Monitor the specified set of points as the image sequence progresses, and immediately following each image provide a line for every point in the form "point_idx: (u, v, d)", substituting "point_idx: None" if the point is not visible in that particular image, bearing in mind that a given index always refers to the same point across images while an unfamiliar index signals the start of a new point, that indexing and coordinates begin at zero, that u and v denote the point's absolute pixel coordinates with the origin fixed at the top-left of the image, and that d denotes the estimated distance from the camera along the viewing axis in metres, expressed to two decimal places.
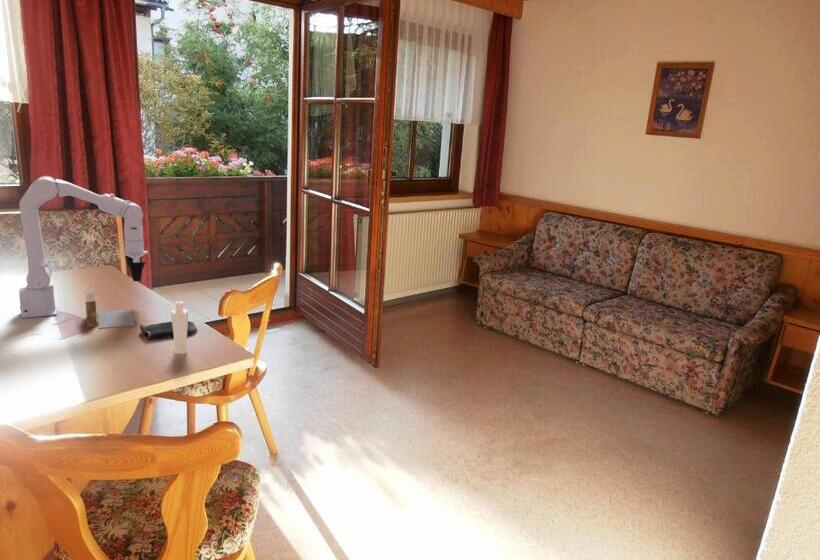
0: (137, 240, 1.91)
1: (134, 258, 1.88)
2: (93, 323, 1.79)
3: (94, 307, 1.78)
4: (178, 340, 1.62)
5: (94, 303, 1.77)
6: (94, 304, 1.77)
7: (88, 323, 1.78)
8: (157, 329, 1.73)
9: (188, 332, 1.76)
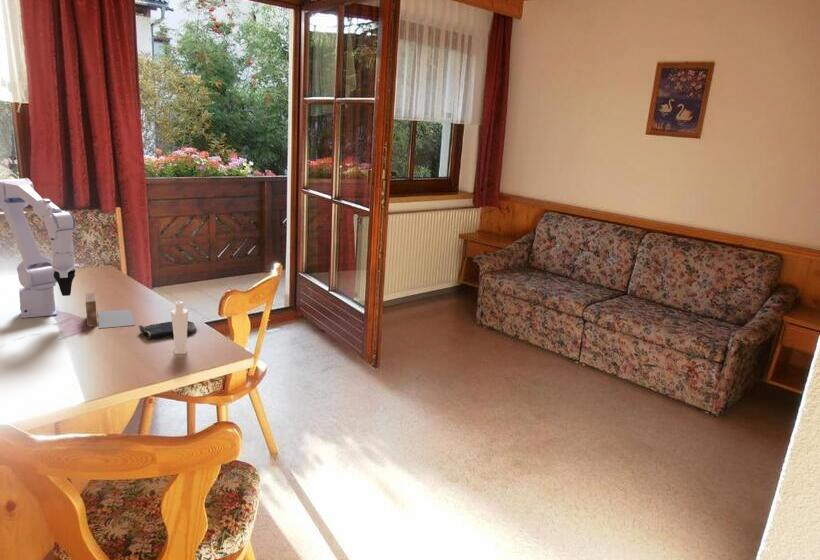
0: (65, 253, 1.71)
1: (61, 273, 1.68)
2: (93, 323, 1.79)
3: (94, 307, 1.78)
4: (178, 340, 1.62)
5: (94, 303, 1.77)
6: (94, 304, 1.77)
7: (88, 323, 1.78)
8: (157, 329, 1.73)
9: (188, 332, 1.77)
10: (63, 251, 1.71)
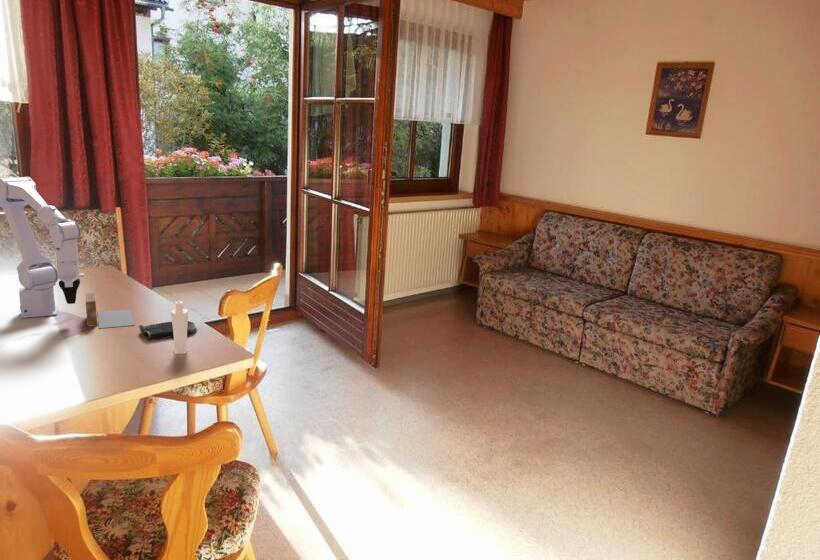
0: (70, 262, 1.73)
1: (66, 282, 1.70)
2: (93, 323, 1.79)
3: (94, 307, 1.78)
4: (178, 340, 1.62)
5: (94, 303, 1.77)
6: (94, 304, 1.77)
7: (88, 323, 1.78)
8: (157, 329, 1.73)
9: (188, 332, 1.76)
10: (69, 260, 1.72)
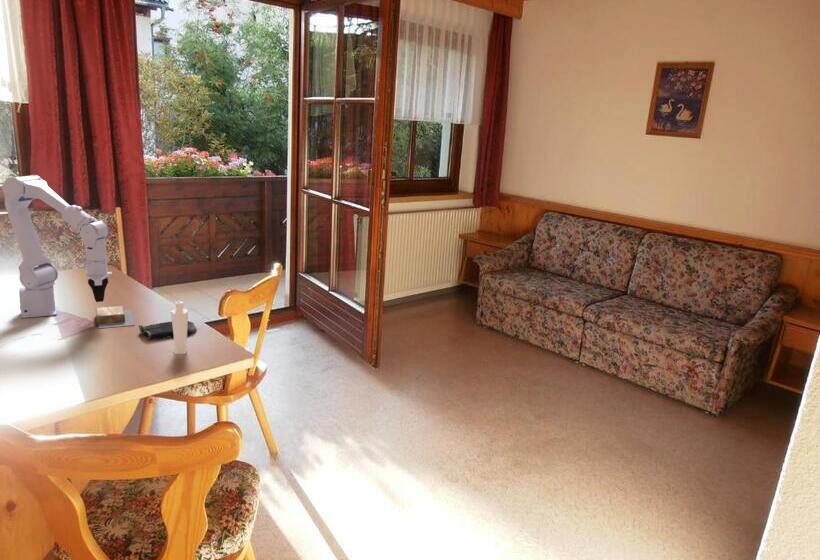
0: (99, 261, 1.76)
1: (95, 281, 1.73)
2: (99, 321, 1.79)
3: (118, 321, 1.82)
4: (178, 340, 1.62)
5: (122, 321, 1.83)
6: (121, 321, 1.82)
7: (99, 317, 1.79)
8: (157, 329, 1.73)
9: (188, 332, 1.77)
10: (101, 259, 1.77)
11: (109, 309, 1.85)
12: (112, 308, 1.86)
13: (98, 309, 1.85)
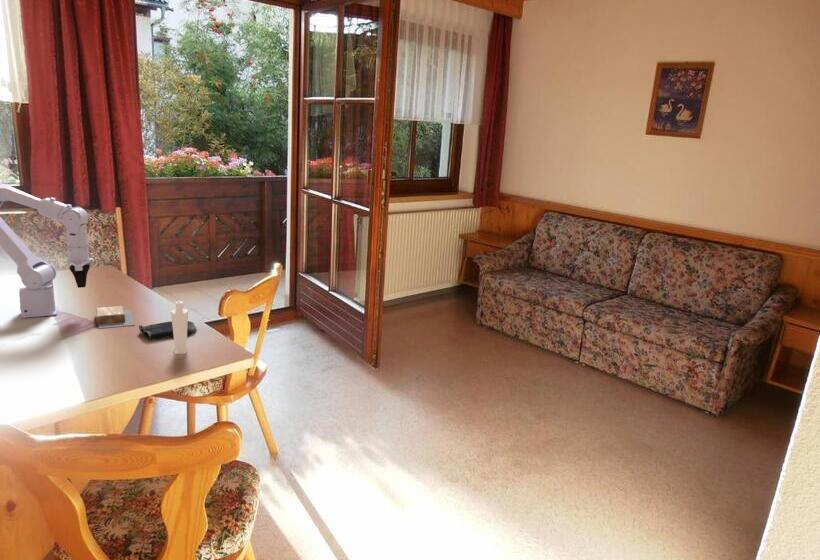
0: (80, 247, 1.79)
1: (76, 266, 1.76)
2: (99, 321, 1.79)
3: (118, 321, 1.82)
4: (178, 340, 1.62)
5: (122, 321, 1.83)
6: (121, 321, 1.82)
7: (99, 317, 1.79)
8: (157, 329, 1.73)
9: (188, 332, 1.77)
10: (84, 245, 1.80)
11: (109, 309, 1.85)
12: (112, 308, 1.86)
13: (98, 309, 1.85)
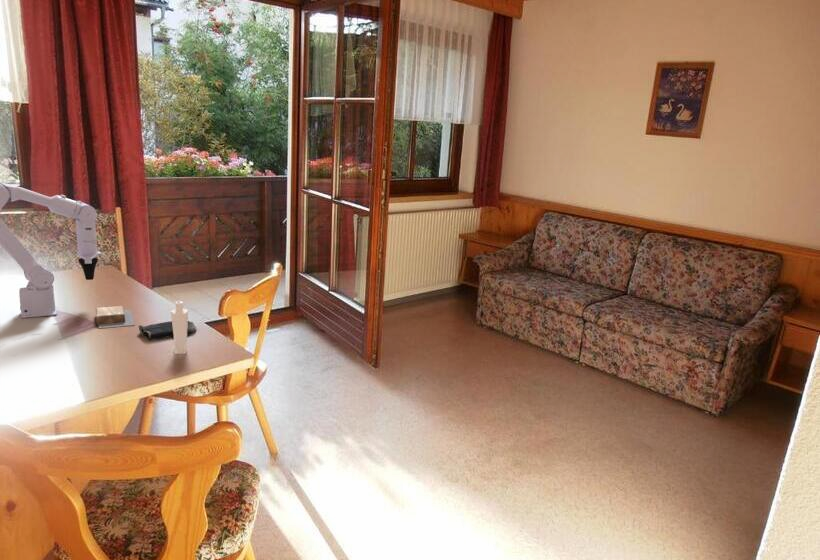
0: (89, 241, 1.88)
1: (85, 259, 1.85)
2: (99, 321, 1.79)
3: (118, 321, 1.82)
4: (178, 340, 1.62)
5: (122, 321, 1.83)
6: (121, 321, 1.82)
7: (99, 317, 1.79)
8: (157, 329, 1.73)
9: (188, 332, 1.77)
10: None
11: (109, 309, 1.85)
12: (112, 308, 1.86)
13: (98, 309, 1.85)
